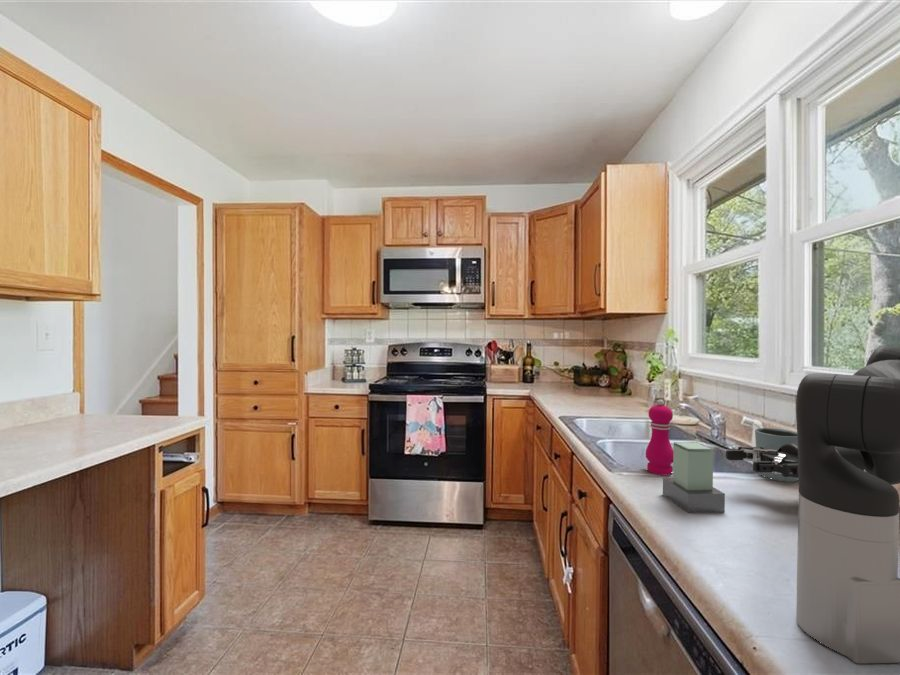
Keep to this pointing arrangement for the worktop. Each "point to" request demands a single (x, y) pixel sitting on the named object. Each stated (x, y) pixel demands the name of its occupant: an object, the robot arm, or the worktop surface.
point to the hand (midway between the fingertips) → (740, 460)
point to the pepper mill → (660, 440)
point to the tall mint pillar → (693, 466)
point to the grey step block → (694, 498)
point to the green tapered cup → (775, 446)
